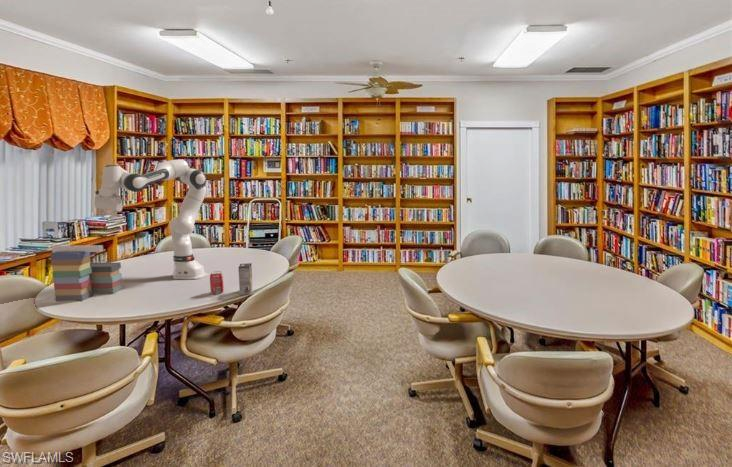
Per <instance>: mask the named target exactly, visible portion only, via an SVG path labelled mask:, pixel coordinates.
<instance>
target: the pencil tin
mask: <svg viewBox="0 0 732 467" xmlns="http://www.w3.org/2000/svg"><path fill="white" fill-rule="evenodd" d="M103 251H104V245H103V244H98V245H97V244H96V245H95V244H94V245H93V244H92V245H91V244H90V245H85V244H84V245H53V246H52V247H51V253H54V252H90V253H101V252H103Z"/></svg>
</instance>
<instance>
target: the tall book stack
mask: <svg viewBox="0 0 732 467" xmlns="http://www.w3.org/2000/svg"><path fill="white" fill-rule="evenodd" d="M49 255H50V265H51V267H52V271H51V273H52V280H53V288H54V297H55V298H54V299H55V301H56V302H82V301H83V302H84V301H85V300H87V299H89V298H92V297H93V296H94V294H93V290H91V285H92V284H93V283H92V278H90V276H89V274H90V273H92V269H91V267H90V263H91V257H90V256H91V252H51V253H49Z"/></svg>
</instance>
